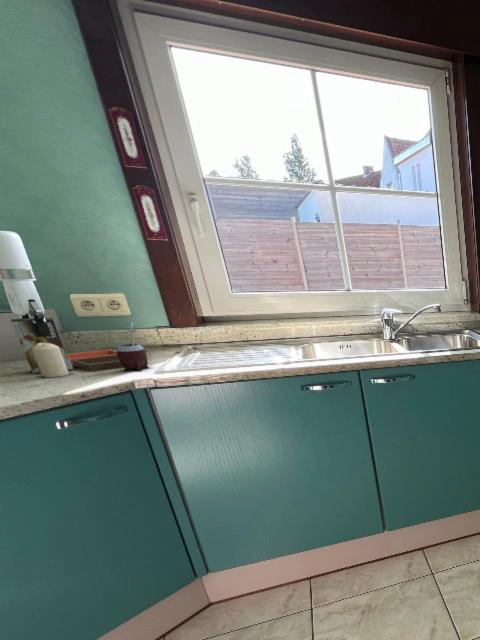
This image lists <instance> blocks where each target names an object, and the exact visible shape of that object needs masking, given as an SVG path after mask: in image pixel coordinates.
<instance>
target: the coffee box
mask: <svg viewBox="0 0 480 640" xmlns="http://www.w3.org/2000/svg"><path fill="white" fill-rule="evenodd" d="M44 318H45V320H46V323H47V325H48V327H49V330H50V333H51V336H45V337H37V336H36V334H35V332H34V329H33V327H32V324H33V322H32V321H31V319H21V318H14V319H12V318H11V319H10V323H11V326H12V327H13V330H14V332H15V335H16V338H17V340H18V342H19V344H20V347H21V349H22V351H23V354H24V357H25V358H26V361H27V363H28V365H29V368H30V370H31V373H32V374H40V373H41V374H42V372H41V369H40V367H39V364H38V362H37V359H36V357H35V354H34V352H33V347H34V346H35V345H36V344H38V343H44V342H46V343H51V344H54V345H56V346H58V347H59V349H60V351H61V354H62V357H63V359H64V362H65V365H66V367H67V370H68V371H69V370H70V371H71V370H74V368H73V365H71V362H70V360H69V357H68V355H67V354H68V352H67V350H66V347H65V345H64V342H63V340H62V338H61V334H60V333H59V329H58V328H57V325H56V322H55V320H54V318H53V317H44Z"/></svg>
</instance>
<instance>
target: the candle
mask: <svg viewBox="0 0 480 640" xmlns="http://www.w3.org/2000/svg"><path fill="white" fill-rule="evenodd" d="M33 352H34V354H35V357H36V359H37V362H38V364H39V367H40V369H41V372H42V373H41V375H42V376H43V377H44V378H58V377H65V376H68V375H69V370H67V367H66V365H65V362H64V359H63V357H62V354H61V351H60V349H59V347H58V346H56V345H54V344H51V343H46V342H44V343H38V344H36V345H35V346H34V347H33Z"/></svg>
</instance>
